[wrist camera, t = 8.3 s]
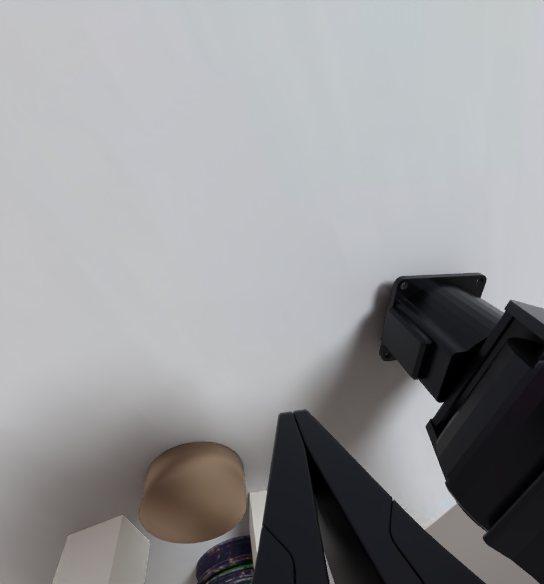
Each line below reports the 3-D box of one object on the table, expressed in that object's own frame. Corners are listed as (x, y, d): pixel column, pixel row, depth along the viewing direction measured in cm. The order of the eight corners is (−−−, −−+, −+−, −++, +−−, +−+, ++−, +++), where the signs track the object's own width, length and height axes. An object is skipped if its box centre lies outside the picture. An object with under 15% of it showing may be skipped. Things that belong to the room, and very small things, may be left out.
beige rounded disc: (205, 424, 26) (204, 457, 23) (261, 476, 29) (266, 510, 26) (125, 474, 27) (115, 511, 24) (188, 518, 30) (185, 556, 27)
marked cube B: (123, 513, 29) (107, 588, 24) (150, 540, 31) (140, 613, 26) (68, 534, 28) (41, 613, 24) (100, 559, 31) (81, 636, 26)
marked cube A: (302, 483, 31) (318, 545, 27) (298, 515, 33) (313, 577, 29) (249, 491, 30) (257, 557, 26) (248, 523, 32) (256, 589, 28)
